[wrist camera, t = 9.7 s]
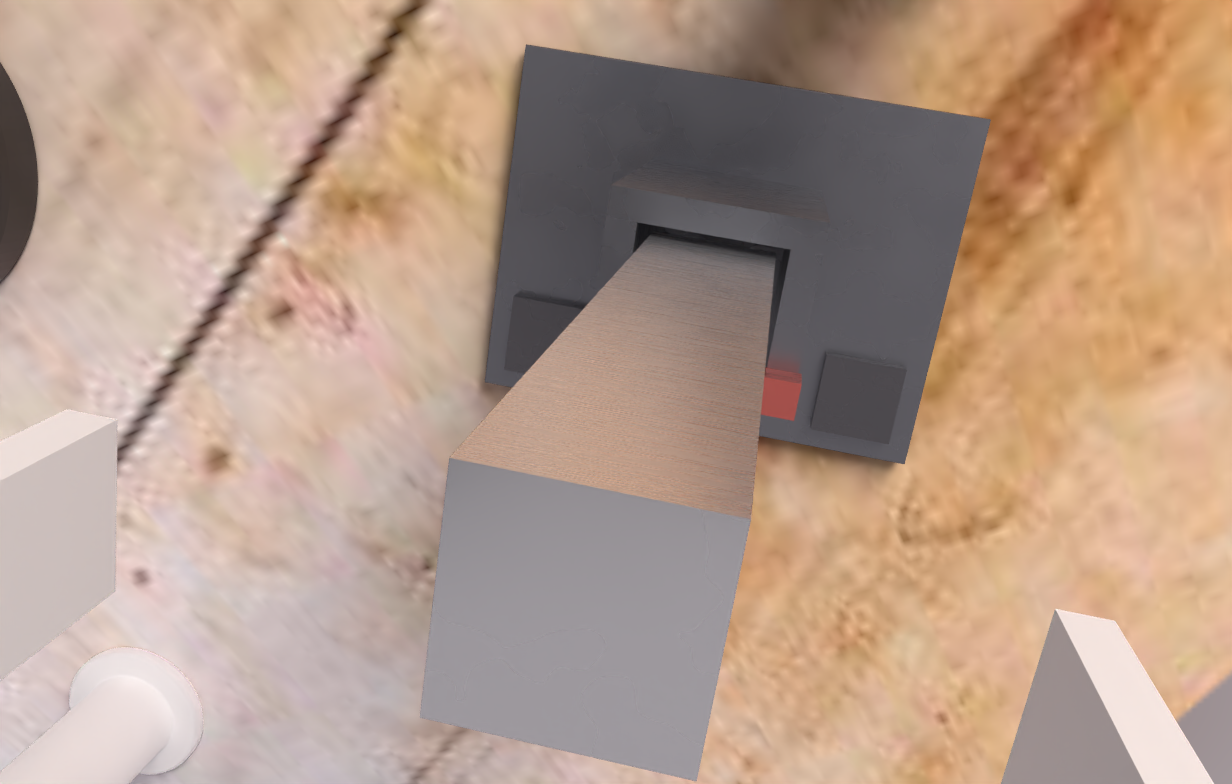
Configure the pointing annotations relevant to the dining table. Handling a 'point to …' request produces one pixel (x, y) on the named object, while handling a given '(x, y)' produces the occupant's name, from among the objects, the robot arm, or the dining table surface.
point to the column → (609, 518)
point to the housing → (744, 225)
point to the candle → (116, 724)
